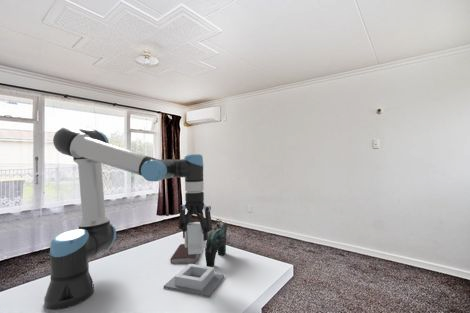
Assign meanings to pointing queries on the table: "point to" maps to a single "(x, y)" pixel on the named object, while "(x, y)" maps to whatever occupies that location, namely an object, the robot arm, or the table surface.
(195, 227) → the skincare box
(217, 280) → the socket dock
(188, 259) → the book
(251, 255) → the table surface
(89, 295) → the robot arm
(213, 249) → the dark green figurine
